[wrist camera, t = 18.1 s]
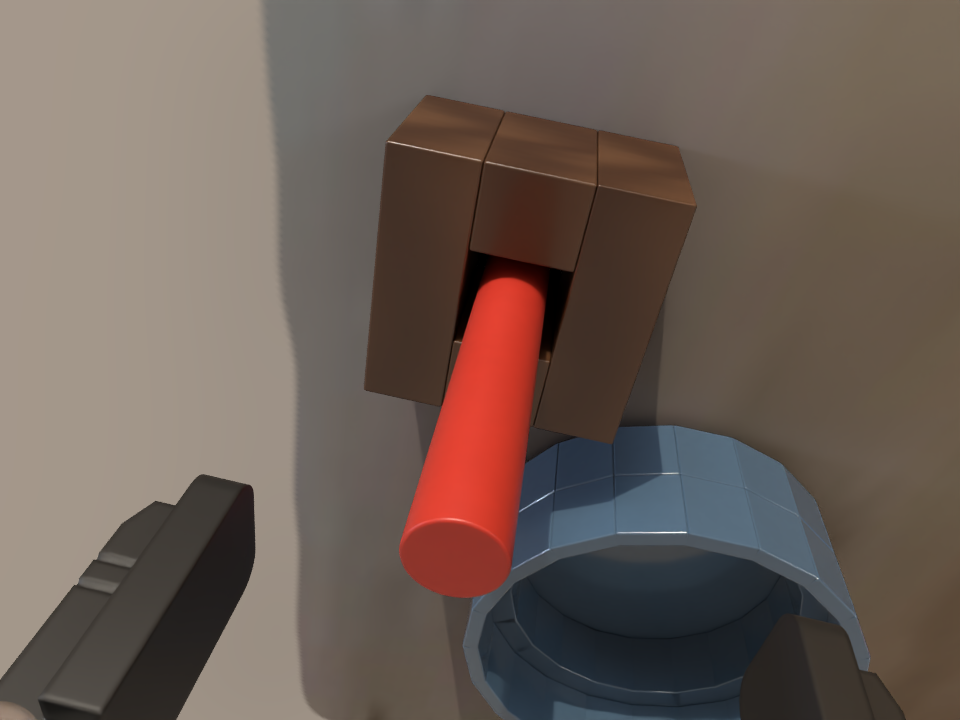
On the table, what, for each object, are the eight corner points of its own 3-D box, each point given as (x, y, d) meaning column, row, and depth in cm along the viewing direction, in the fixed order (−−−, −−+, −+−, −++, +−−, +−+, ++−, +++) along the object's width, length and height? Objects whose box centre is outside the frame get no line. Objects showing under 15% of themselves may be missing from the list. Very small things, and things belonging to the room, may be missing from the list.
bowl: (886, 462, 27) (952, 591, 22) (747, 675, 35) (772, 806, 30) (518, 382, 27) (500, 491, 22) (463, 612, 35) (441, 730, 30)
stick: (559, 218, 23) (521, 535, 12) (546, 272, 25) (500, 609, 13) (500, 206, 24) (404, 509, 12) (490, 260, 25) (393, 585, 13)
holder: (679, 146, 22) (697, 205, 18) (610, 358, 26) (612, 445, 22) (425, 93, 22) (385, 140, 18) (400, 312, 26) (363, 391, 22)
